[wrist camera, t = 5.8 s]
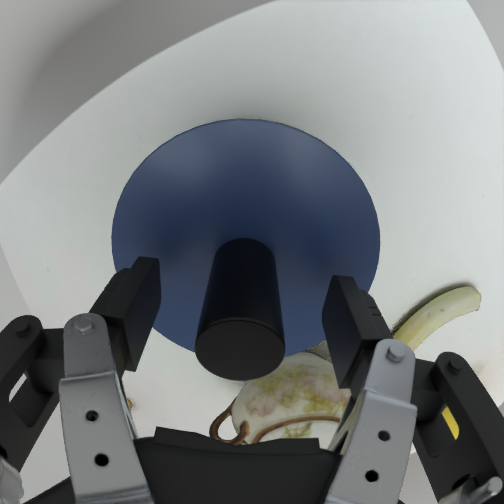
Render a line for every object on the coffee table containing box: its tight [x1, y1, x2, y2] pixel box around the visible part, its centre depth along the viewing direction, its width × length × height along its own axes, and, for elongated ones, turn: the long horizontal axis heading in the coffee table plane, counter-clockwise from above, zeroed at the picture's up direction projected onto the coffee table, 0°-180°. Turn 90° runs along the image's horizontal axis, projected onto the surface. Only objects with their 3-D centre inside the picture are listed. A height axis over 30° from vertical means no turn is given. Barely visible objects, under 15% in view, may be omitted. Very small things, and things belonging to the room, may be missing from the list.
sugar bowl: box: [209, 352, 351, 449], centre depth 29 cm, size 20×15×15 cm
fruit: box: [393, 286, 481, 352], centre depth 31 cm, size 7×15×3 cm, turn 124°
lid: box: [111, 118, 380, 381], centre depth 11 cm, size 12×12×6 cm
